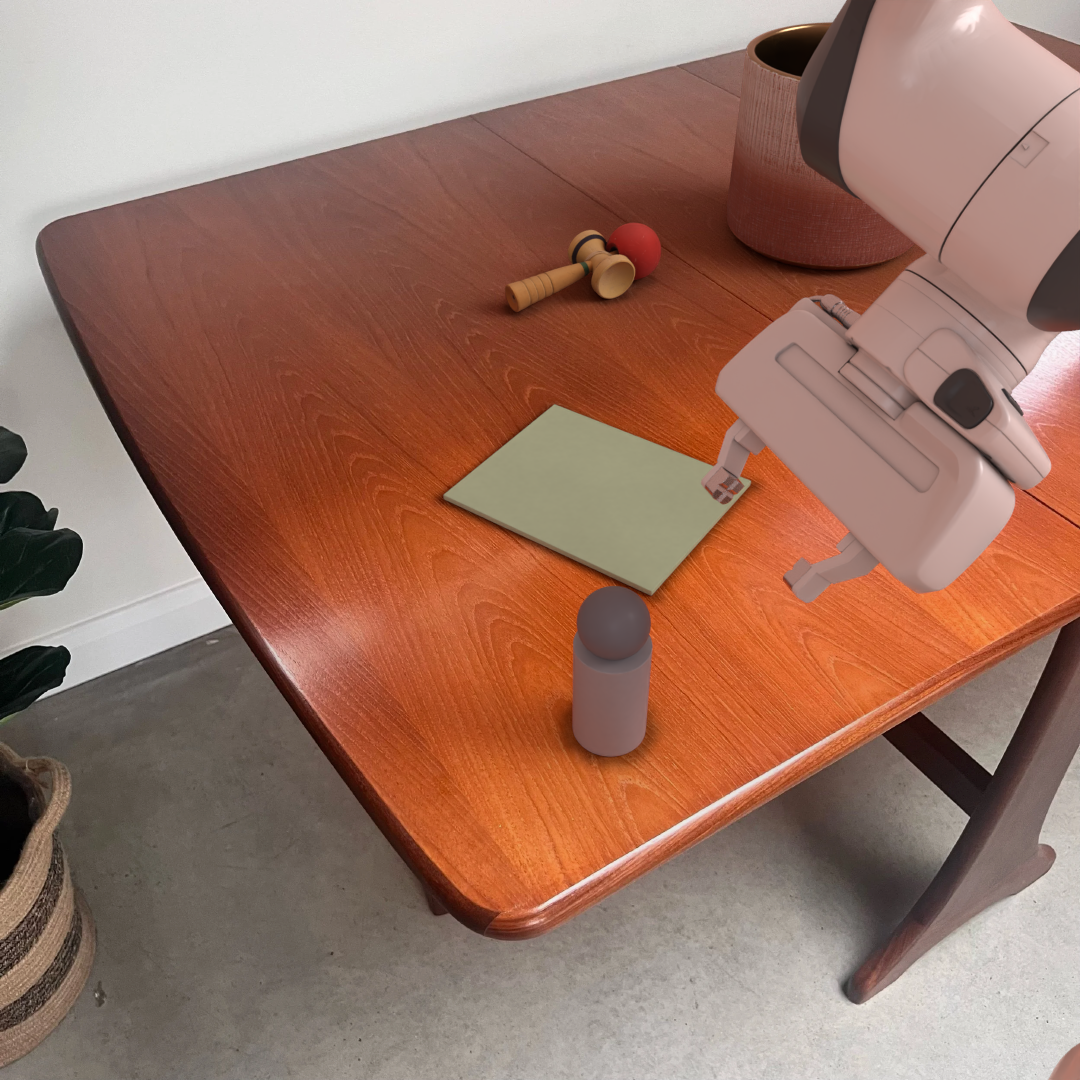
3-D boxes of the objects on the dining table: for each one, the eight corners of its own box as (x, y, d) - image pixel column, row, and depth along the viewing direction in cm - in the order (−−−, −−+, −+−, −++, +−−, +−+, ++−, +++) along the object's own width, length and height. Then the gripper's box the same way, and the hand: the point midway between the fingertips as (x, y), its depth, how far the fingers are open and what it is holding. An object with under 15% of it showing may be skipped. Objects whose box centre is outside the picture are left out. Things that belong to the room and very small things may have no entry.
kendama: (536, 340, 107) (680, 276, 112) (521, 283, 103) (671, 219, 108) (503, 320, 113) (642, 259, 118) (489, 265, 109) (632, 205, 114)
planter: (737, 186, 132) (757, 15, 119) (919, 203, 127) (960, 27, 114) (711, 265, 116) (730, 78, 103) (917, 288, 111) (964, 95, 98)
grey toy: (659, 719, 69) (671, 589, 61) (620, 769, 66) (628, 639, 58) (598, 687, 71) (602, 557, 63) (558, 734, 68) (557, 604, 60)
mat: (750, 485, 87) (751, 480, 86) (651, 596, 77) (651, 591, 77) (554, 408, 96) (554, 403, 95) (443, 499, 86) (442, 494, 86)
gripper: (793, 256, 63) (640, 425, 67) (1031, 438, 49) (820, 640, 53) (842, 307, 67) (696, 463, 71) (1075, 489, 53) (876, 672, 57)
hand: (750, 541), depth 62 cm, fingers open, 8 cm apart
